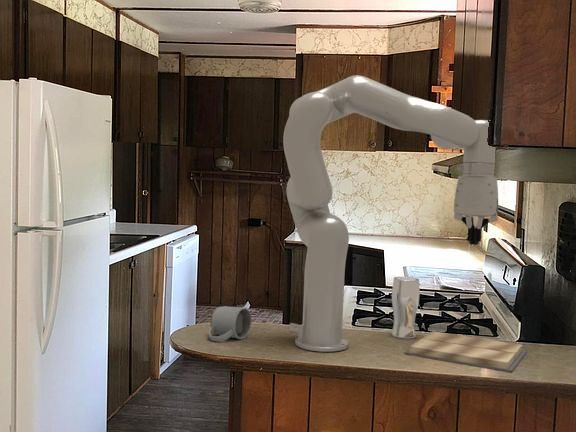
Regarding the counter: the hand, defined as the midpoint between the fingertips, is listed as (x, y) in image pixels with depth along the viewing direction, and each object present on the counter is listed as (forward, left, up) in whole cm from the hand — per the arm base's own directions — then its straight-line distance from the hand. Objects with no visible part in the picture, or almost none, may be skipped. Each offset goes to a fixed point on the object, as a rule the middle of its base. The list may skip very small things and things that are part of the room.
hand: (474, 244), depth 163 cm
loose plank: (+2, -6, -25) cm, 25 cm away
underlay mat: (+2, -10, -25) cm, 27 cm away
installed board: (+2, -15, -25) cm, 29 cm away
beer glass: (-16, -3, -25) cm, 30 cm away
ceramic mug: (-51, -32, -25) cm, 66 cm away
